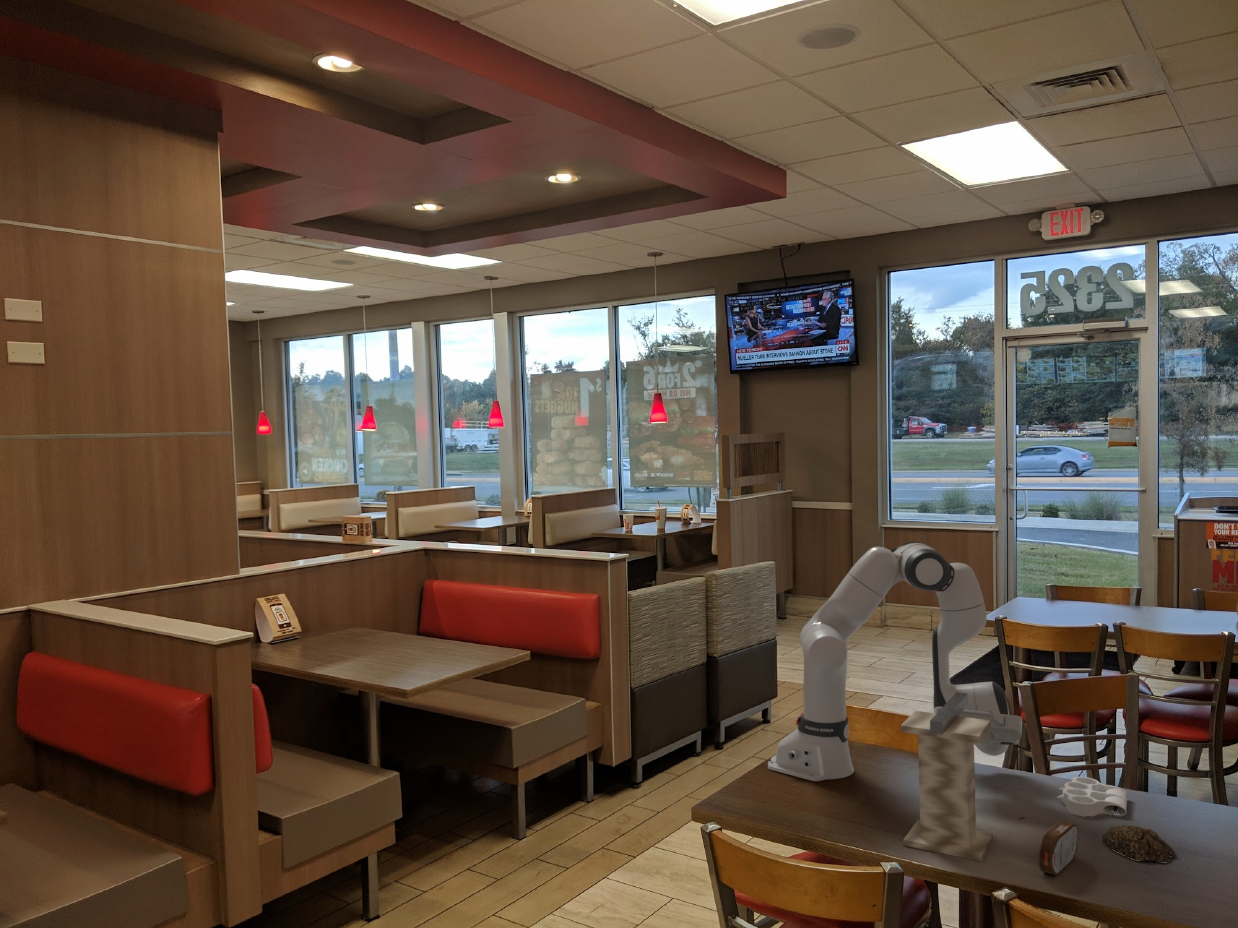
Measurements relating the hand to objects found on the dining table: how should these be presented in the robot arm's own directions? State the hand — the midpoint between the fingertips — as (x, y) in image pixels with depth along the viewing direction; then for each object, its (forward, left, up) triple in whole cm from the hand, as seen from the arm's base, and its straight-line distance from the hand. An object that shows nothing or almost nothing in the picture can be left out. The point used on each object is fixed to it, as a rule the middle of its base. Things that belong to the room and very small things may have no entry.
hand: (971, 712), depth 218 cm
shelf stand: (0, -25, -21) cm, 33 cm away
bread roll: (+35, -10, -22) cm, 43 cm away
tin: (+22, -26, -22) cm, 40 cm away
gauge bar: (0, -21, +5) cm, 22 cm away
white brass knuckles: (+24, +12, -22) cm, 35 cm away
